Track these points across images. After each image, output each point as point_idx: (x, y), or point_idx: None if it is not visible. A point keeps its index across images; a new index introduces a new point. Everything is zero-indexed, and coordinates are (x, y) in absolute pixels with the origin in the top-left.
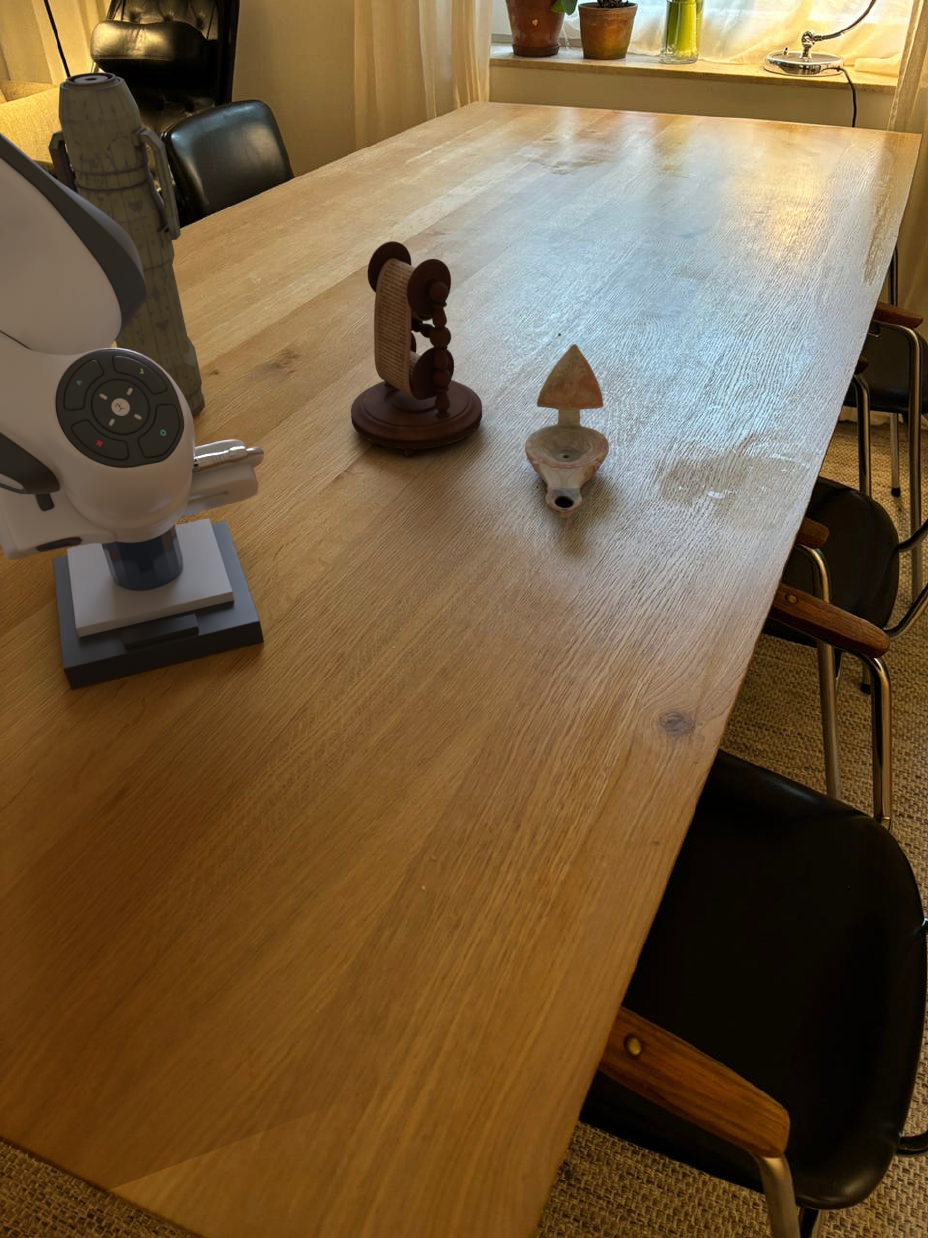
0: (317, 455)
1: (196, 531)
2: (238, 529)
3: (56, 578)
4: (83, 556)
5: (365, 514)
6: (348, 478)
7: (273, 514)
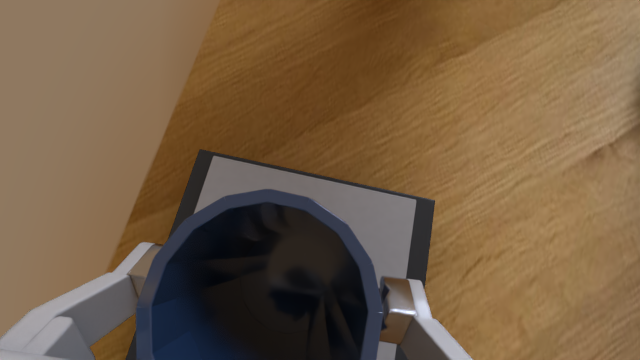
0: (583, 92)
1: (388, 223)
2: (439, 188)
3: (185, 197)
4: (225, 187)
5: (610, 256)
6: (610, 162)
7: (491, 182)
